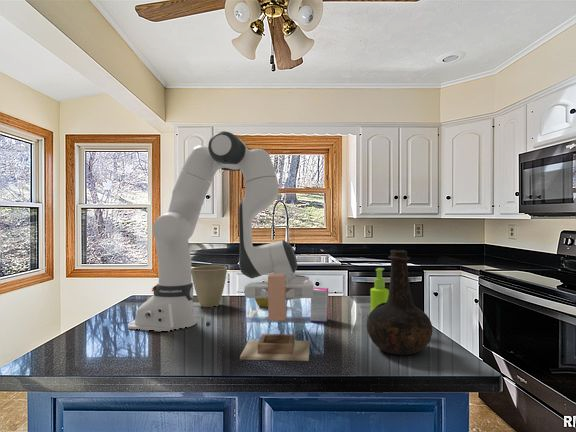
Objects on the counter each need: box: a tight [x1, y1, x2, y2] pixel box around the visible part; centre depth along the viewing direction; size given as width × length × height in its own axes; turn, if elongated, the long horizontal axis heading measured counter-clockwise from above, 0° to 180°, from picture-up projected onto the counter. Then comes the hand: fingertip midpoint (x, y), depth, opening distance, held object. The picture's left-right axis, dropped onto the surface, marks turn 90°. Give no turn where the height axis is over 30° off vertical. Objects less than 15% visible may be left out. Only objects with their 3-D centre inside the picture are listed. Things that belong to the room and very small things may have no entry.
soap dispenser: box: [369, 267, 389, 313], centre depth 133 cm, size 6×7×20 cm
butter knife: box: [248, 309, 259, 319], centre depth 147 cm, size 1×24×3 cm
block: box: [267, 273, 287, 321], centre depth 111 cm, size 4×4×12 cm
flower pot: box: [254, 298, 268, 308], centre depth 167 cm, size 9×9×9 cm
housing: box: [239, 333, 311, 362], centre depth 111 cm, size 18×14×3 cm
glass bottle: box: [366, 249, 433, 356], centre depth 112 cm, size 18×18×28 cm
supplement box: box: [309, 286, 329, 324], centre depth 143 cm, size 6×6×12 cm
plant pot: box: [191, 265, 228, 308], centre depth 168 cm, size 15×15×16 cm
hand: (276, 295), depth 110 cm, fingers closed on block, 4 cm apart
